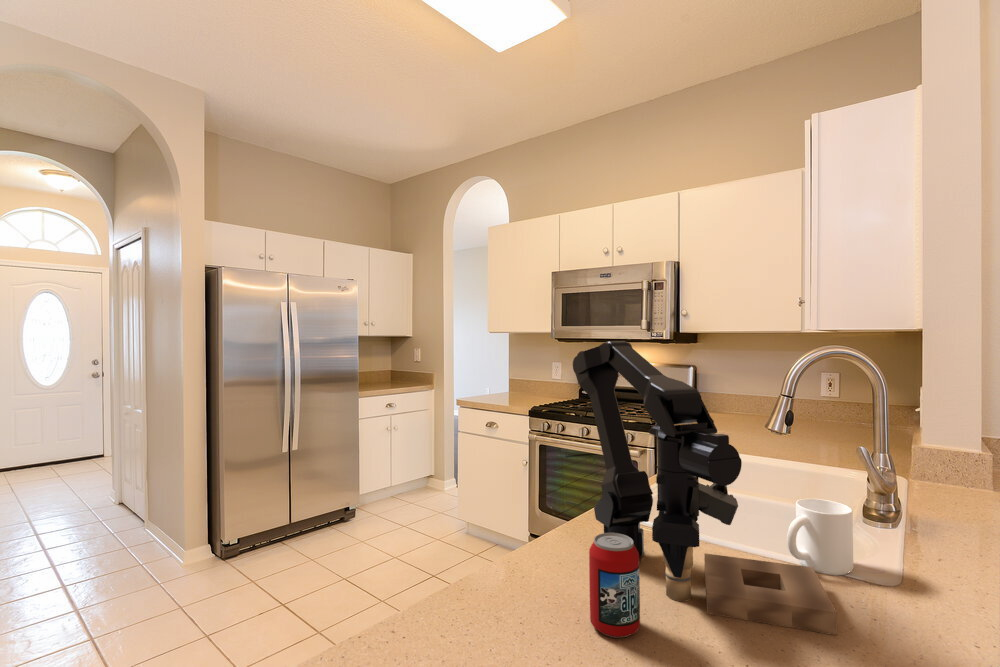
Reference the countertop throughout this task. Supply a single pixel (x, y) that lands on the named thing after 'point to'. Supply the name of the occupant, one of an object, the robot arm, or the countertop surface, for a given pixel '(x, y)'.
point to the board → (768, 593)
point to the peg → (679, 579)
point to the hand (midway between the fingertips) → (677, 569)
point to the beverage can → (614, 585)
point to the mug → (822, 536)
